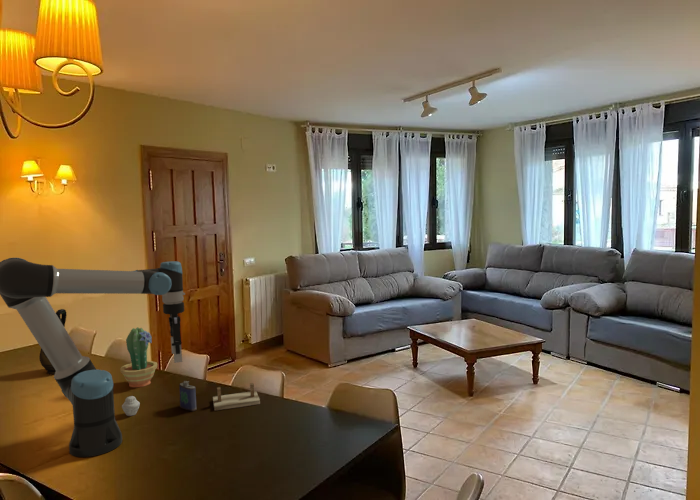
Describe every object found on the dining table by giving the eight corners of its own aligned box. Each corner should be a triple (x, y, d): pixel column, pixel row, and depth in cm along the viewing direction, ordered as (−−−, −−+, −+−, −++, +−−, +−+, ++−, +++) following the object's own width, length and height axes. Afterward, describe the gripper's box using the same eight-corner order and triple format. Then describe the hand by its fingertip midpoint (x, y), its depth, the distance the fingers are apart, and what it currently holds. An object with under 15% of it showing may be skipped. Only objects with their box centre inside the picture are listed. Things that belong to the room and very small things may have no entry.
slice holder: (260, 403, 190) (259, 387, 189) (214, 410, 184) (213, 393, 184) (256, 394, 200) (255, 378, 200) (213, 400, 195) (212, 384, 194)
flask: (198, 409, 186) (196, 382, 185) (191, 412, 184) (189, 384, 183) (184, 404, 192) (183, 377, 191) (177, 406, 189) (176, 379, 189)
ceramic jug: (65, 375, 232) (61, 313, 230) (33, 376, 232) (28, 313, 230) (85, 364, 249) (81, 306, 246) (55, 365, 249) (51, 307, 247)
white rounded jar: (133, 418, 180) (132, 399, 179) (118, 417, 181) (117, 398, 180) (143, 411, 186) (142, 393, 185) (129, 410, 187) (128, 392, 186)
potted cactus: (127, 392, 207) (123, 334, 205) (116, 383, 218) (112, 328, 216) (164, 383, 217) (160, 327, 215) (151, 375, 228) (148, 322, 226)
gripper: (187, 306, 176) (190, 364, 178) (181, 296, 199) (184, 348, 200) (164, 308, 173) (168, 367, 175) (161, 298, 196) (164, 350, 197)
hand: (176, 357), depth 188 cm, fingers open, 13 cm apart
